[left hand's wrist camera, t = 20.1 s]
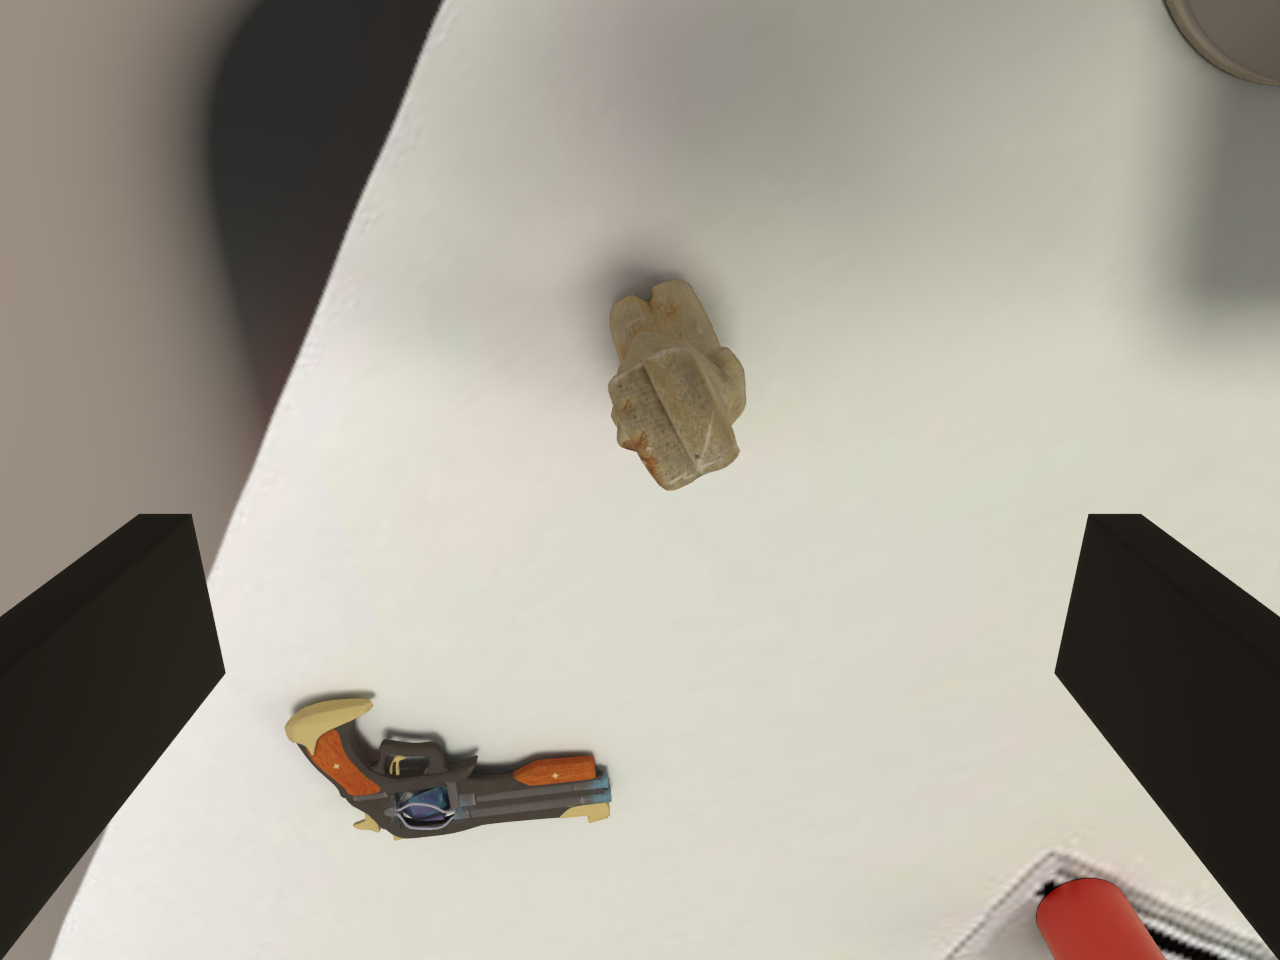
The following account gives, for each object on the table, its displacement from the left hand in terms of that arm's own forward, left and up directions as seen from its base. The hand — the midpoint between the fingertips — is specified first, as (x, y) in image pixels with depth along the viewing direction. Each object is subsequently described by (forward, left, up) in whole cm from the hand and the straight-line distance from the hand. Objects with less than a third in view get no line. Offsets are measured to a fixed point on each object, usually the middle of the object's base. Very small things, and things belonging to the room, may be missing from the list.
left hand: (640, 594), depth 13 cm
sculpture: (+2, +3, -32) cm, 33 cm away
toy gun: (+32, +4, -32) cm, 45 cm away
